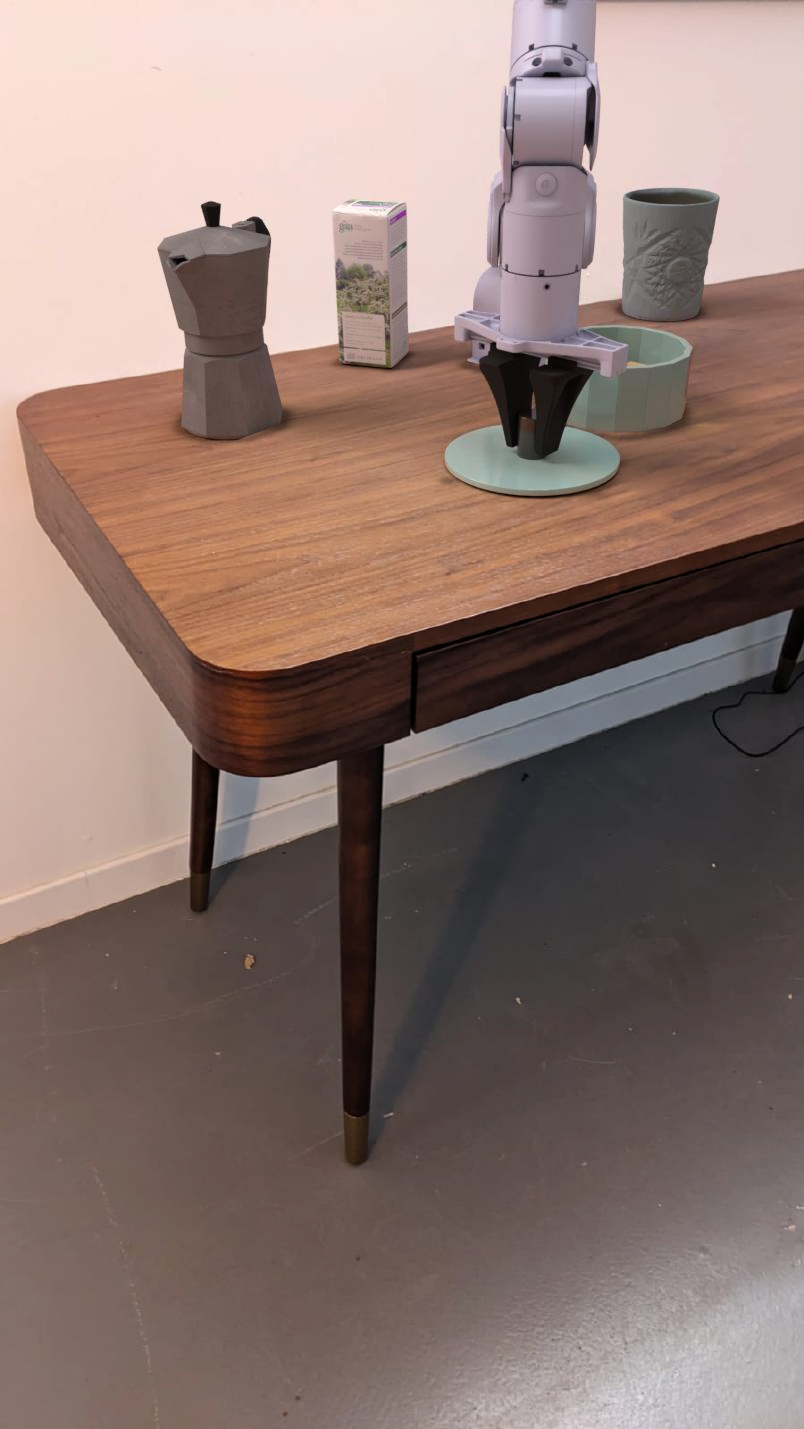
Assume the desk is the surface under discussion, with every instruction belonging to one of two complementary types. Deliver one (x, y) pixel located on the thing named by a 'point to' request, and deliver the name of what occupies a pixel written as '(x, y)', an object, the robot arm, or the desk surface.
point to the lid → (531, 460)
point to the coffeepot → (223, 325)
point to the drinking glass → (666, 251)
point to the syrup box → (371, 281)
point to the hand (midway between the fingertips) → (531, 447)
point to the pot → (636, 383)
